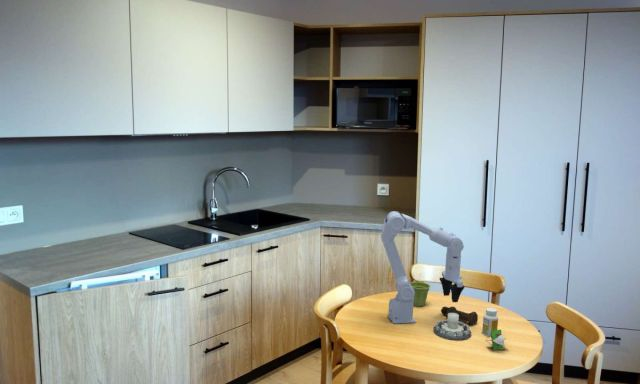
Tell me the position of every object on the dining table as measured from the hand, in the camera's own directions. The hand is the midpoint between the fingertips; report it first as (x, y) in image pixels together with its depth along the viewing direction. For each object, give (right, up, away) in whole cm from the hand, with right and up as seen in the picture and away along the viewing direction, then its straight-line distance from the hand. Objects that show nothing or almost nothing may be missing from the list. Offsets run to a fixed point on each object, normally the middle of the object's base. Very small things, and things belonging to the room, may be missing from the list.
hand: (450, 298), depth 213 cm
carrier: (-2, -11, -10) cm, 15 cm away
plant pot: (-9, -7, +20) cm, 23 cm away
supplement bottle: (+12, -12, -10) cm, 20 cm away
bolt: (+4, -10, +4) cm, 11 cm away
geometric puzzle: (+11, -13, -22) cm, 28 cm away
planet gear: (-2, -10, -10) cm, 14 cm away
